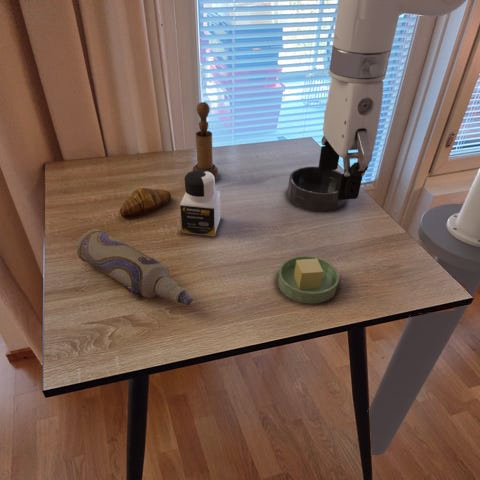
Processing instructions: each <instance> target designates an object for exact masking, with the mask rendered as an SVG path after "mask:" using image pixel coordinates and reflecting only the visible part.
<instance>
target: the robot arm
mask: <svg viewBox="0 0 480 480" xmlns="http://www.w3.org/2000/svg"><path fill="white" fill-rule="evenodd" d="M466 1H467V0H338V3H337V9H336V10H337V11H336V17H335V25H334V33H333V39H332V48H331V54H330V62H329V69H328V76H330V78H331V79H330V84H329V87H328V91H327V92H328V93H327V98H326V103H325V110H324V115H323V116H324V117H323V124H322V125H323V126H322V132H323V136H322V138H321V146H320V154H319V161H318V162H319V163H318V166H317V167H318V168H319V170H320V171H326V170H336V171H337V170H338V167H339V161H340V158H342V164H343V165H342V166H343V173H342V174H341V178H340V183H339V189H338V194H337V198H338V199H339V200H345V201H346V200H356V199H358V198H359V194H360V190H361V185H362V181H363V177H364V176H365V174H366V172H367V171H368V168H369V165H370V163H371V162H372V159H373V153H374V150H375V145H376V142H377V141H376V140H377V135H378V130H379V125H380V120H381V114H382V104H383V95H384V80H385V78H386V75H387V71H388V67H389V62H390V59H391V58H390V57H391V53H392V48H393V44H394V39H395V36H396V31H397V27H398V22H399V18H400V16H401V15H412V16H420V17H421V16H422V17H427V18H436V17H443V16H445V15H448V14H450V13H452V12H454V11H456V10H457V9H459V8H460V7H461V6H462V5H463V4H464V3H466ZM349 151H354V152H349ZM355 151H356V152H355ZM355 159H356V160H357V161H356V162H354V163H352V164H351V160H355ZM462 204H463V206H462V209H461V211H460V213H457V214H454V215H452V216H451V217H450V218H449V219H448V221H447V229H448V231H449V232H450V233H451V234H452V235H453V236H454V237H455V238H457V239H458V240H460V241H462V242H464V243H466V244H469V245H472V246H476V247H480V168H478V171H477V173H476V175H475V178H474V179H473V182H472V184H471V186H470V189H469V190H468V194H467V195H466V198H465V200H464V202H463V203H462Z"/></svg>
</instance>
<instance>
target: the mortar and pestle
mask: <svg viewBox="0 0 480 480" xmlns="http://www.w3.org/2000/svg"><path fill="white" fill-rule="evenodd" d="M210 111H211V109H210V105H209V103H207V102H206V101H201V102H198V104H197V106H196V112H197V115H198V116H199V122H198V128H199V131H197V132H195V144H196V145H195V146H196V164H195V165H194V166H193V167H192V171H195V170H204V171H208V172H210V173H212V174H213V175H214V177H215V182H216V181H218V179H219V167H217V166H216V165H215V164H214V159H213V157H214V156H213V132H212V131H210V130H208V128H209V122H208V121H207V118H208V116H209V114H210Z"/></svg>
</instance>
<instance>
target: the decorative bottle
mask: <svg viewBox="0 0 480 480" xmlns="http://www.w3.org/2000/svg"><path fill="white" fill-rule="evenodd" d="M75 250H76V255H77V257H78V258H79V260H81V261H82V262H84V263H87V264H88V265H90V266H91V267H94V268H95V269H97V270H98V271H100V272H102V273H103V274H105V275H107V276H108V277H110V278H112V279H113V280H115V281H117V282H118V283H120V284H121V285H123V287H124V288H125V289H126V290H127V291H128V292H130V293H132V294H134V295H135V294H136V295H139V296H141V297H143V298H158V297H159V298H163V299H166V300H170V301H172V302H174V303H176V304H182V305H185V306H190V305H191V304H192V302H193V300H194V299H193V298H192V297H191V296H190V294H189V293H188V292H187V290H186V289H185V288H183V287H182V286H180V285H178V283H177V282H176V280H175V281H174V280H173V279H172V278H171V277H169V276H170V273H169V270H168V267H167V266H166V265H165V264H164V263H162V262H159V261H158V260H156V259H155V258H153V257H150V256H149V255H147V254H145V253H143V252H141V251H140V250H138V249H136V248H135V247H134V246H133V247H132V246H130V245H128V244H126V243H125V242H124V241H121V240H119V239H117V238H115V237H114V236H111V235H110V234H109V233H107V232H106V231H105V230H102V229H99V228H93V229H90V230H88V231H86V232H85V233H84V234H82V235H81V236H80V238H79V239H78V240H77V243H76V248H75Z"/></svg>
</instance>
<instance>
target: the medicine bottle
mask: <svg viewBox="0 0 480 480" xmlns="http://www.w3.org/2000/svg"><path fill="white" fill-rule="evenodd" d="M184 191H185V193H184V195H183V196H182V199H181V201H180V204H179V206H180V207H179V209H180V220H181V231H182V234H189V235H198V236H207V237H215V236H216V233H217V230H218V228H219V224H220V221H221V191H220V190H216V181H215V177H214V175H213V174H212V173H210V172H208V171H204V170H195V171H193V170H191V171H189V172H188V173H186V174H185V176H184Z"/></svg>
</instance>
